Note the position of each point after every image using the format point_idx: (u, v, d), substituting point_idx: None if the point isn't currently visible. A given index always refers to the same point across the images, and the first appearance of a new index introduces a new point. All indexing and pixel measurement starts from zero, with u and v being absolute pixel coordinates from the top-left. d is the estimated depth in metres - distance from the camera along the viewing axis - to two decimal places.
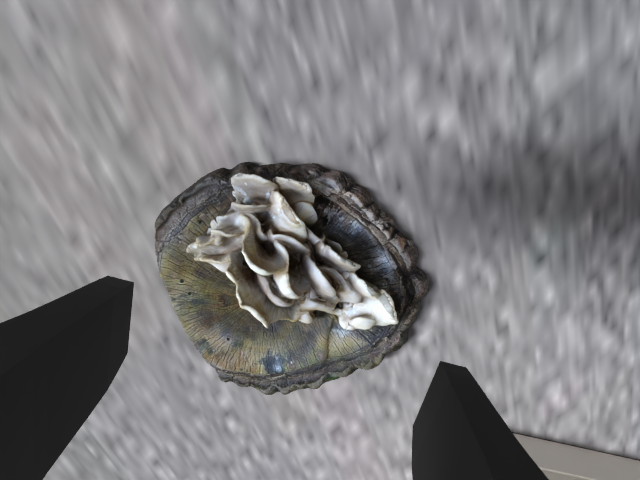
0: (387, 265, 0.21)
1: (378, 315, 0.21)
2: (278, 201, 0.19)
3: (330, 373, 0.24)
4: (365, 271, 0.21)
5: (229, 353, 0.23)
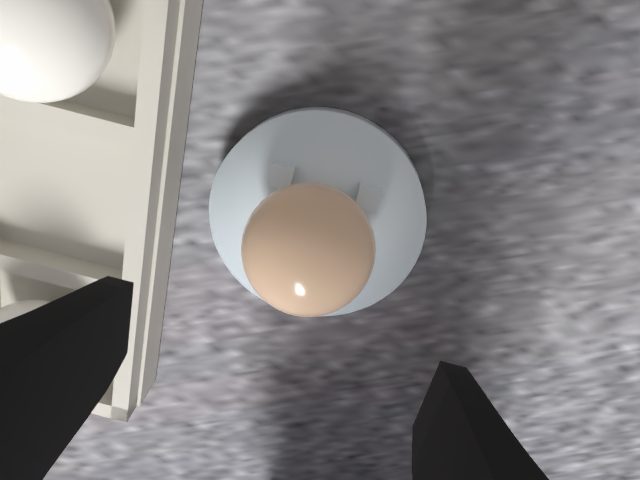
0: None
1: None
2: None
3: None
4: None
5: None
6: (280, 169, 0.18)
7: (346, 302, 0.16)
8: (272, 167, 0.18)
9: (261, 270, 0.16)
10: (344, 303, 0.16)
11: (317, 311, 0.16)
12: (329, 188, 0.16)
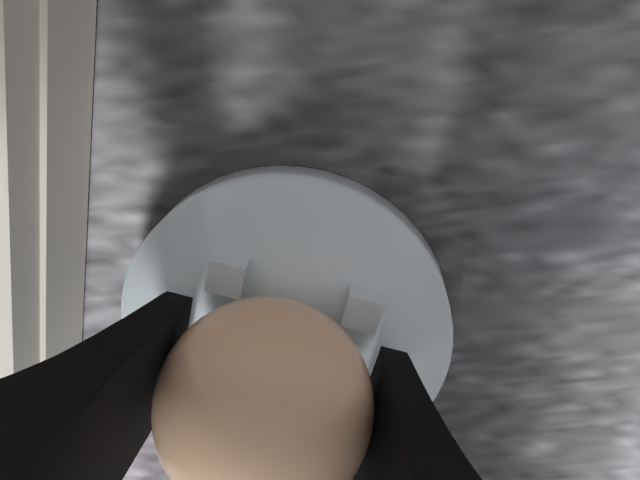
0: None
1: None
2: None
3: None
4: None
5: None
6: (223, 267, 0.11)
7: None
8: (210, 265, 0.11)
9: (175, 469, 0.09)
10: None
11: None
12: (296, 315, 0.10)
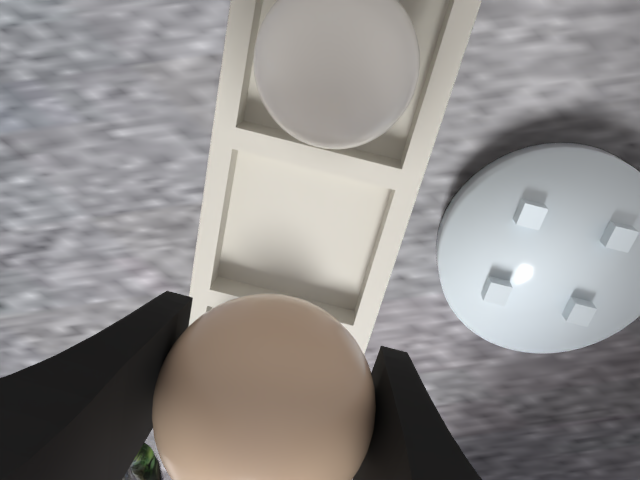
0: None
1: None
2: None
3: (131, 465, 0.26)
4: None
5: None
6: (532, 208, 0.18)
7: None
8: (525, 206, 0.17)
9: (176, 467, 0.09)
10: None
11: None
12: (297, 313, 0.10)
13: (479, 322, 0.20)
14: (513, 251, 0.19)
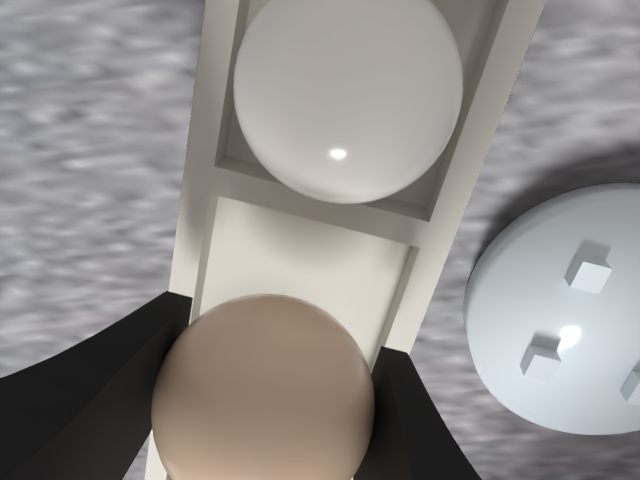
0: None
1: None
2: None
3: None
4: None
5: None
6: (592, 267, 0.14)
7: None
8: (583, 265, 0.14)
9: (175, 467, 0.09)
10: None
11: None
12: (297, 313, 0.10)
13: (516, 398, 0.16)
14: (563, 316, 0.15)
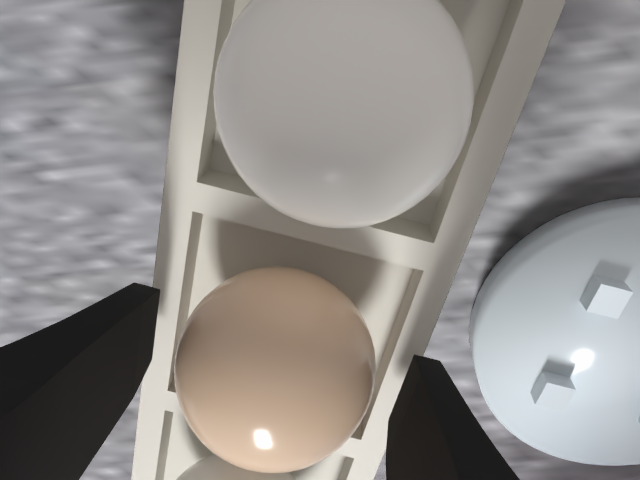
0: None
1: None
2: None
3: None
4: None
5: None
6: (610, 290, 0.13)
7: None
8: (601, 288, 0.13)
9: (198, 416, 0.10)
10: (328, 455, 0.11)
11: (287, 471, 0.11)
12: (305, 281, 0.11)
13: (526, 426, 0.15)
14: (577, 341, 0.14)
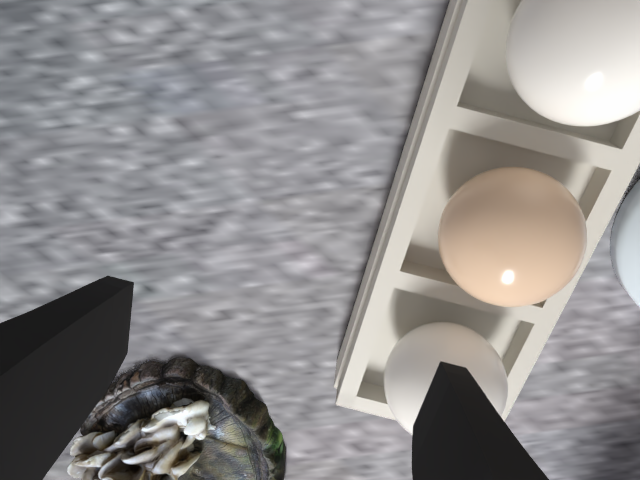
0: (154, 391, 0.25)
1: (186, 415, 0.25)
2: (78, 465, 0.26)
3: (263, 448, 0.26)
4: (160, 407, 0.26)
5: None
6: None
7: None
8: None
9: (482, 257, 0.15)
10: (557, 292, 0.16)
11: (533, 300, 0.15)
12: (540, 172, 0.16)
13: None
14: None
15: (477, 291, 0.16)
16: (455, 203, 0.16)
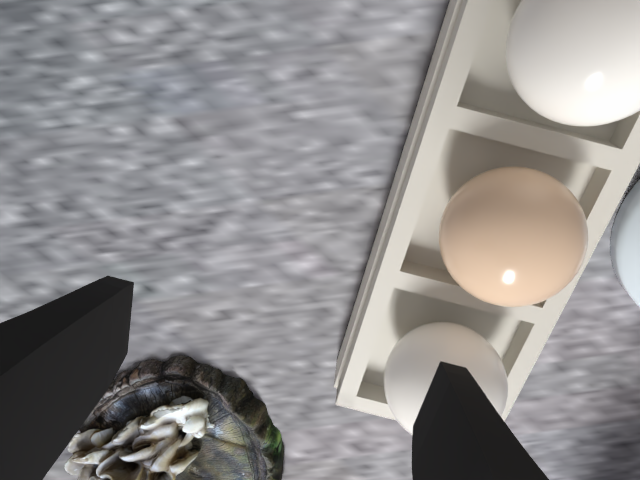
0: (153, 389, 0.25)
1: (185, 413, 0.25)
2: (76, 462, 0.26)
3: (261, 447, 0.26)
4: (159, 404, 0.26)
5: None
6: None
7: None
8: None
9: (484, 257, 0.15)
10: (559, 291, 0.16)
11: (535, 300, 0.15)
12: (541, 172, 0.16)
13: None
14: None
15: (479, 291, 0.16)
16: (456, 203, 0.16)
